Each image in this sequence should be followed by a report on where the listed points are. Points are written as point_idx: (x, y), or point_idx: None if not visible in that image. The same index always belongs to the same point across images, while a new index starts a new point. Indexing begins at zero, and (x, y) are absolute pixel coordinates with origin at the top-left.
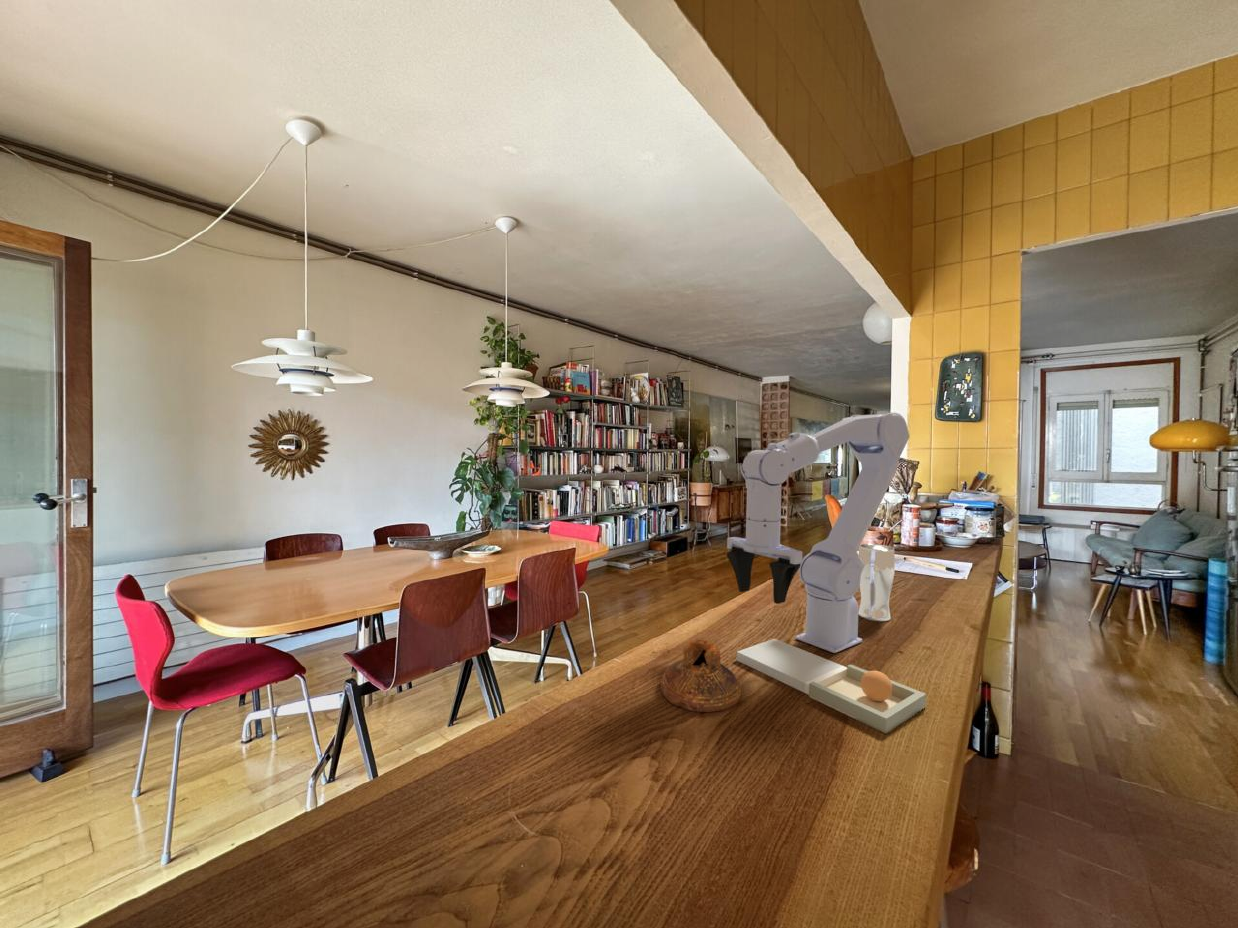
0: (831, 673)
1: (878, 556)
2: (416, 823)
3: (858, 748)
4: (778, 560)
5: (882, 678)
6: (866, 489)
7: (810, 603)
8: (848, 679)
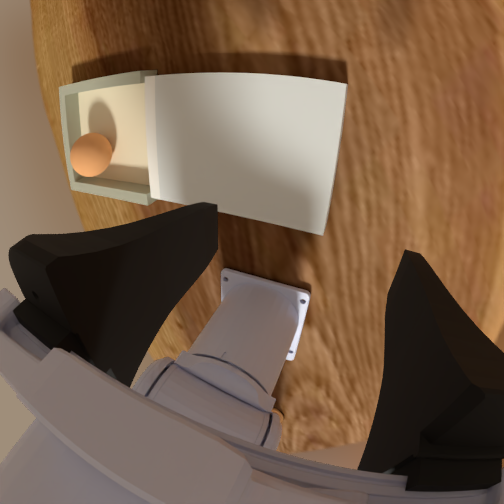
0: (151, 152)
1: None
2: None
3: (77, 31)
4: (63, 334)
5: (70, 154)
6: None
7: (248, 352)
8: None
